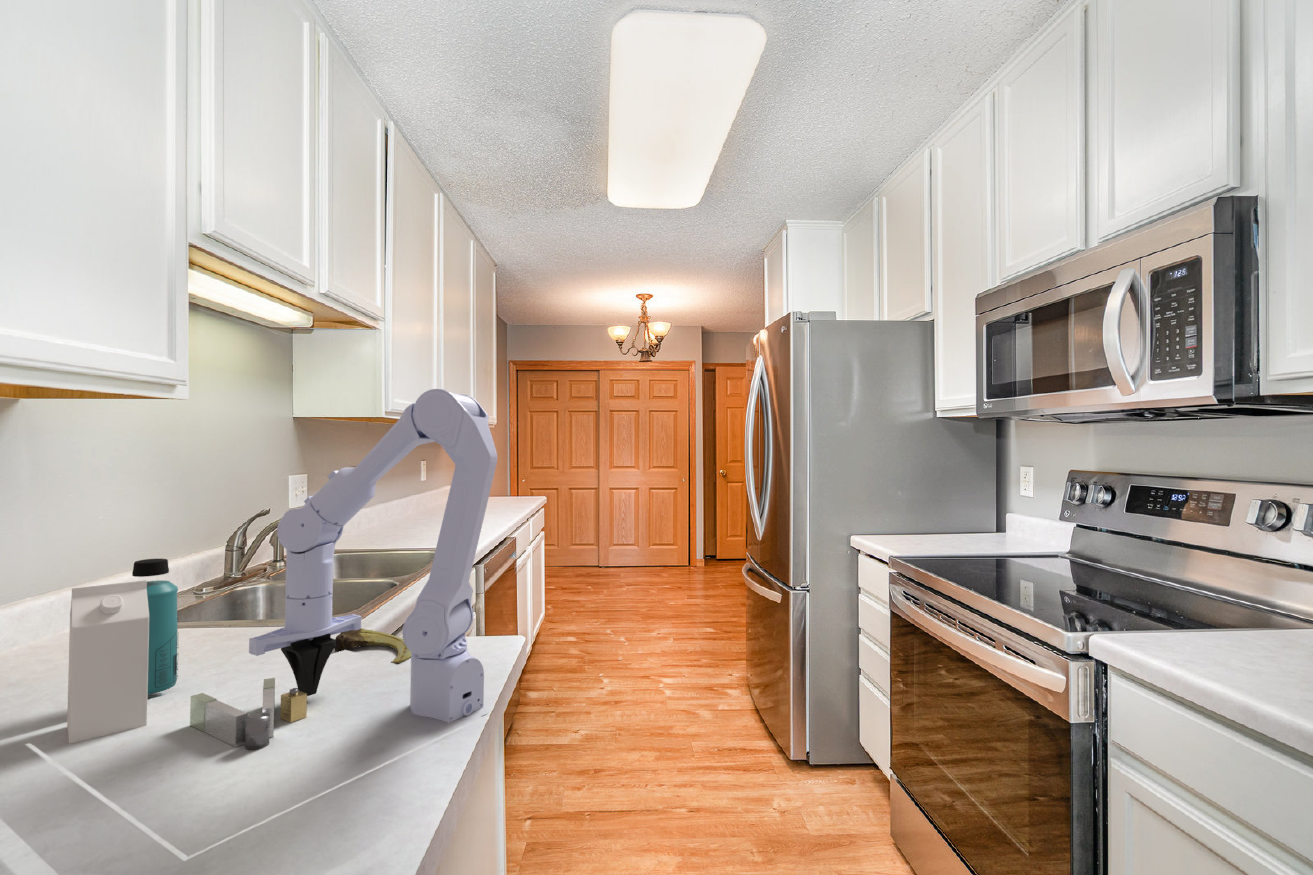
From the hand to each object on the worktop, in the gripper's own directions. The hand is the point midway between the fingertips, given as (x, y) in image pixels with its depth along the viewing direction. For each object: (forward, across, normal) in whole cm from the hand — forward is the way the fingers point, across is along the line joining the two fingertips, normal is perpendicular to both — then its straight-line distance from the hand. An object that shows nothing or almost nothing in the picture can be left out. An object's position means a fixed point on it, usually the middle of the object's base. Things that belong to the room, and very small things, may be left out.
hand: (307, 693), depth 87 cm
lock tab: (+1, +4, +4) cm, 6 cm away
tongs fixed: (+1, +11, +2) cm, 11 cm away
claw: (+3, -22, -16) cm, 27 cm away
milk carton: (+3, +18, -14) cm, 22 cm away
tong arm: (+1, +6, +2) cm, 7 cm away
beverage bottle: (+3, +10, -24) cm, 26 cm away
